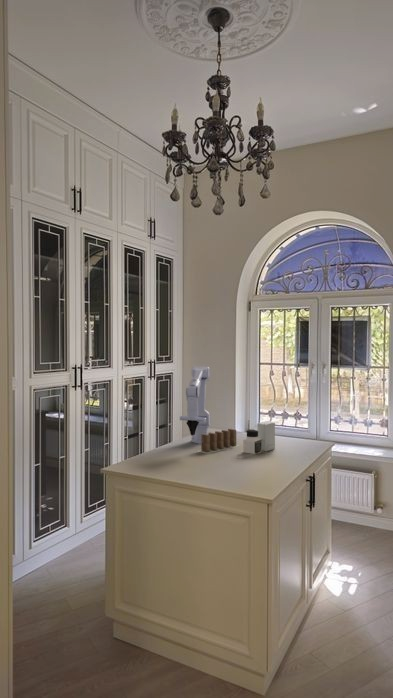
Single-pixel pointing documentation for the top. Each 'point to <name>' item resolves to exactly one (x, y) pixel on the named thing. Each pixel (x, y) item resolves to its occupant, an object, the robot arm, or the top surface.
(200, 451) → the domino mat
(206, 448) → the end domino
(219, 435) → the domino
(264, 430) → the skincare box
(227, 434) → the domino
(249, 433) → the medicine bottle
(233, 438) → the domino
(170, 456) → the top surface
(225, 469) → the top surface
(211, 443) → the domino
